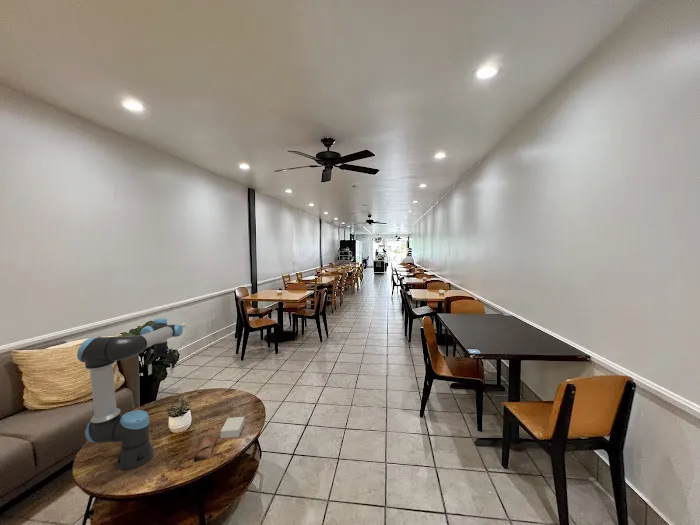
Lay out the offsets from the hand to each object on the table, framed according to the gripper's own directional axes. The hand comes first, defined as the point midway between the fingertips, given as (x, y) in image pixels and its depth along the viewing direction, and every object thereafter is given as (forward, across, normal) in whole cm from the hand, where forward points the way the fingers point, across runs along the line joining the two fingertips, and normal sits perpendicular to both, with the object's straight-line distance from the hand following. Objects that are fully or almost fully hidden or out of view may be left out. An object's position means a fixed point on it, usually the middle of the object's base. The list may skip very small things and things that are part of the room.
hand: (161, 373), depth 191 cm
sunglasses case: (+28, -43, +43) cm, 67 cm away
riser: (+27, -53, +28) cm, 66 cm away
